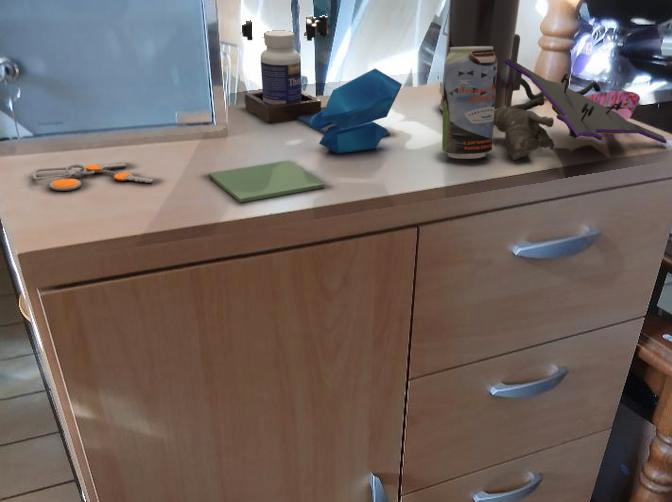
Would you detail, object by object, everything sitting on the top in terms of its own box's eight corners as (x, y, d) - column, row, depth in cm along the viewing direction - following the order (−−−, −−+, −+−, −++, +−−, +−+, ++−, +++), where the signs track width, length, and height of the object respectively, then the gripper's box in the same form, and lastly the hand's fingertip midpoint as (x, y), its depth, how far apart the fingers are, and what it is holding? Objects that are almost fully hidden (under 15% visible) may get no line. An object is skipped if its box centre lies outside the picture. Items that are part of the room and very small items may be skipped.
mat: (288, 164, 88) (288, 160, 87) (324, 187, 82) (324, 184, 81) (208, 176, 84) (208, 173, 83) (240, 202, 78) (239, 198, 78)
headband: (642, 123, 97) (651, 106, 96) (624, 106, 95) (632, 89, 94) (587, 125, 106) (595, 109, 106) (569, 109, 104) (577, 94, 103)
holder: (295, 102, 109) (295, 87, 107) (321, 116, 103) (321, 100, 102) (245, 108, 105) (244, 93, 104) (269, 123, 100) (268, 107, 99)
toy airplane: (690, 159, 78) (663, 204, 81) (676, 111, 98) (655, 149, 101) (486, 69, 78) (467, 117, 81) (515, 40, 98) (499, 79, 102)
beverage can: (458, 169, 87) (470, 53, 80) (426, 151, 92) (434, 40, 84) (502, 162, 90) (517, 49, 82) (468, 145, 95) (479, 37, 87)
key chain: (30, 193, 78) (28, 185, 78) (33, 170, 84) (31, 163, 83) (154, 186, 81) (153, 178, 81) (149, 164, 87) (148, 157, 86)
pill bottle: (296, 119, 102) (293, 37, 96) (258, 116, 103) (253, 35, 96) (306, 109, 106) (304, 30, 100) (270, 106, 107) (266, 27, 100)
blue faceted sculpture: (293, 86, 88) (379, 52, 90) (310, 158, 94) (390, 124, 97) (319, 101, 83) (410, 65, 86) (335, 176, 89) (420, 140, 92)
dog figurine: (535, 135, 98) (480, 146, 98) (535, 87, 94) (477, 99, 94) (563, 165, 89) (502, 177, 89) (564, 114, 85) (500, 127, 85)
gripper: (231, -17, 114) (226, 0, 102) (324, -15, 115) (329, 1, 103) (236, 39, 119) (231, 61, 107) (324, 40, 120) (329, 62, 108)
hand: (279, 32), depth 105 cm, fingers open, 8 cm apart
